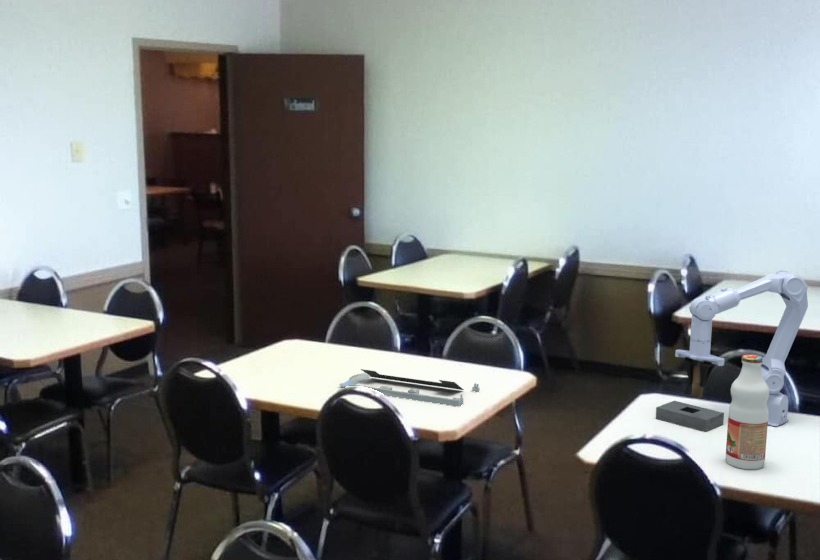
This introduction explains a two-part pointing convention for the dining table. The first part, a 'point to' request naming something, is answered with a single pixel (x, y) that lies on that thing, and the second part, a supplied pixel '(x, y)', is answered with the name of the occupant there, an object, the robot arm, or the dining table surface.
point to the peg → (696, 382)
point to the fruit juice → (748, 416)
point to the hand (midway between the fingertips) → (697, 384)
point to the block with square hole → (690, 416)
